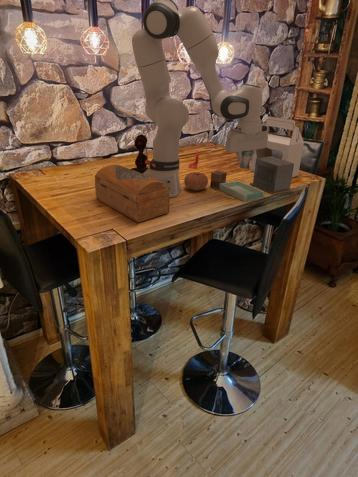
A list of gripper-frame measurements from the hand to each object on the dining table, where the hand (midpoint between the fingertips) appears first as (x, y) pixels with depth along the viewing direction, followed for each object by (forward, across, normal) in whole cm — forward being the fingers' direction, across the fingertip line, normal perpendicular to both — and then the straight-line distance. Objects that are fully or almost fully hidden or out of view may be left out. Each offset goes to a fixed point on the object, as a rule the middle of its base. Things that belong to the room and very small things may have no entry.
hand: (245, 160), depth 151 cm
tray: (+15, 0, 0) cm, 15 cm away
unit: (+15, +18, 0) cm, 23 cm away
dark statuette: (+15, -30, +42) cm, 53 cm away
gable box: (+16, +37, +18) cm, 44 cm away
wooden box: (+15, -49, +8) cm, 52 cm away
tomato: (+15, -15, +14) cm, 26 cm away
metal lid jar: (+3, 0, 0) cm, 3 cm away
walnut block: (+15, -4, +12) cm, 20 cm away
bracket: (+15, +4, +47) cm, 50 cm away
